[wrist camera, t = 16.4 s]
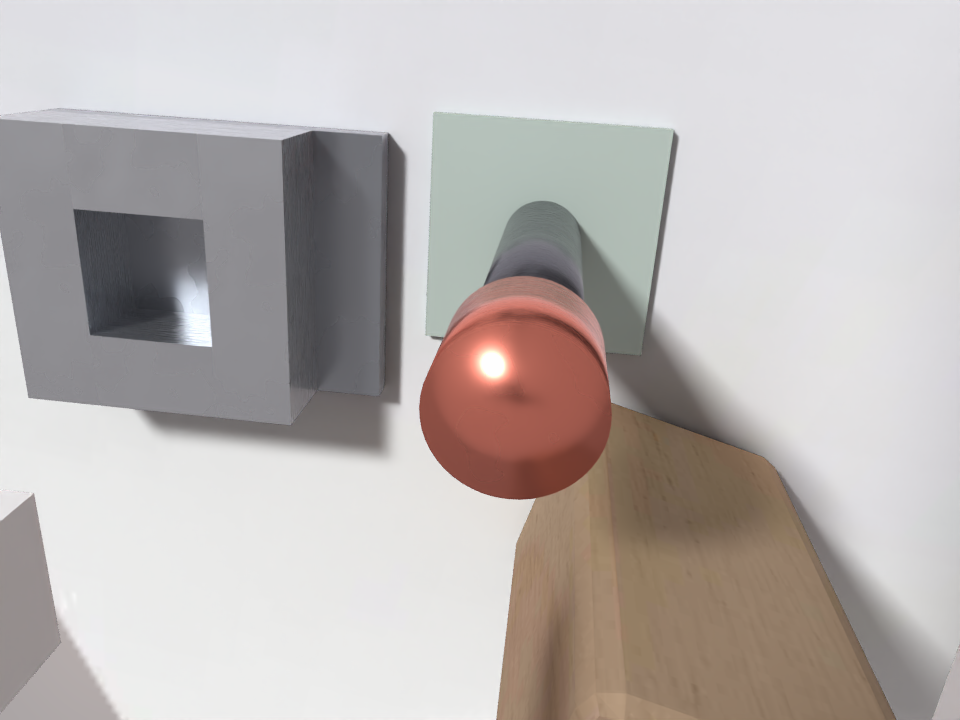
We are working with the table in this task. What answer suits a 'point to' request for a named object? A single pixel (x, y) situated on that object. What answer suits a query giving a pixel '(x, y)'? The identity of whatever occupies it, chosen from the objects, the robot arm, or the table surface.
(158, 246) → the grey hollow block
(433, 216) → the mat
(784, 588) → the wooden block
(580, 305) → the red capped rod
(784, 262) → the table surface
